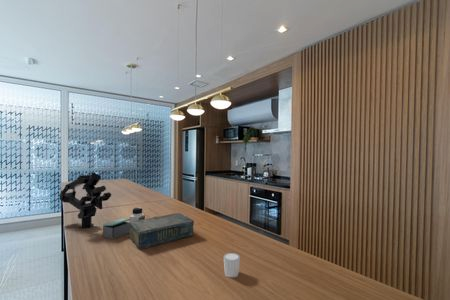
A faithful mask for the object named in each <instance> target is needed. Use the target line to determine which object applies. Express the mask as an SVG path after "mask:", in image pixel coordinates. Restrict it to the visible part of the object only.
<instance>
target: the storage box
mask: <svg viewBox="0 0 450 300" xmlns="http://www.w3.org/2000/svg"><path fill="white" fill-rule="evenodd" d="M129 223H130V221H125V222H122V223H119V224H116V225H111V226H103V225H102V237H104V238H107V239H112V240H114V239H117V238H119V237H122V236H124V235H127V234H129V231H130V224H129Z"/></svg>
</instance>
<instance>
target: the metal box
mask: <svg viewBox="0 0 450 300" xmlns="http://www.w3.org/2000/svg"><path fill="white" fill-rule="evenodd" d="M129 222H130V221H129ZM129 224H130V231H129V233H128V234H129V235H128V238H129V239H130V240H131V241H132V243H133V244H135V246H136V248H137V249H138V250H144V249H145V250H146V249H148V248H151V247H152V248H153V247H156V246H160V245H164V244H167V243H171V242H175V241H178V240H183V239H187V238H191V237H193V236H194V224H195V221H194V219H192V218H190V217H188V216H186V215H184V214H183V213H181V212H177V213H176V212H175V213H169V214H166V215H158V216H153V217H151V218H150V217H149V218H145V219H142V220H136V221H132V222H130V223H129Z"/></svg>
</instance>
